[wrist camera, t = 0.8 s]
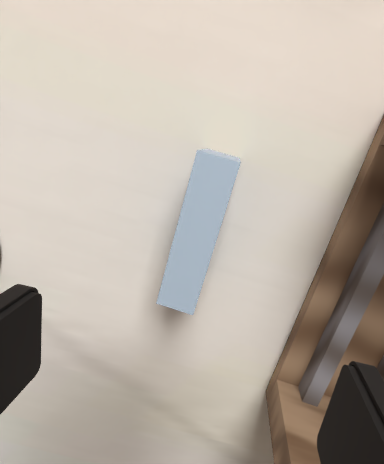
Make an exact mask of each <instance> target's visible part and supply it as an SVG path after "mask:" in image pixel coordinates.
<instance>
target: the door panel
mask: <svg viewBox="0 0 384 464" xmlns="http://www.w3.org/2000/svg"><path fill="white" fill-rule="evenodd" d="M240 163H241V162H240V158H238V157H235V156H231V155H228V154H224V153H221V152H217V151H214V150H210V149H202V150H197V153H196V157H195V160H194V164H193V168H192V172H191V175H190V179H189V183H188V187H187V190H186V194H185V198H184V202H183V205H182V209H181V213H180V217H179V220H178V224H177V228H176V231H175V235H174V239H173V243H172V246H171V250H170V254H169V258H168V261H167V265H166V269H165V273H164V276H163V280H162V284H161V288H160V291H159V295H158V299H157V303H156V304H159V305H163V306H166V307H169V308H172V309H175V310H178V311H181V312H184V313H188V314H191V315H193V314H194V311H195V307H196V304H197V301H198V298H199V295H200V291H201V288H202V285H203V282H204V278H205V275H206V272H207V269H208V266H209V262H210V259H211V256H212V253H213V250H214V246H215V243H216V240H217V237H218V234H219V230H220V227H221V224H222V221H223V218H224V214H225V211H226V208H227V205H228V201H229V198H230V195H231V192H232V189H233V185H234V182H235V179H236V176H237V173H238V169H239V166H240Z"/></svg>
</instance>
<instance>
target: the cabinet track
mask: <svg viewBox="0 0 384 464" xmlns="http://www.w3.org/2000/svg"><path fill="white" fill-rule="evenodd" d="M351 361H355V362H360V363H364V364H368V365H373V366H375V367H376V368H377V370H378V372H379V373H380V375H381V377H382V378H383V380H384V116H383V118H382V121H381V123H380V126H379V128H378V130H377V133H376V135H375V137H374V140H373V142H372V144H371V147H370V149H369V151H368V154H367V156H366V158H365V161H364V163H363V165H362V168H361V170H360V172H359V175H358V177H357V179H356V182H355V184H354V186H353V189H352V191H351V193H350V196H349V198H348V200H347V203H346V205H345V207H344V210H343V212H342V214H341V217H340V219H339V221H338V224H337V226H336V228H335V231H334V233H333V235H332V238H331V240H330V242H329V245H328V247H327V249H326V252H325V254H324V256H323V259H322V261H321V263H320V266H319V268H318V270H317V273H316V275H315V277H314V280H313V282H312V284H311V287H310V289H309V291H308V294H307V296H306V298H305V301H304V303H303V305H302V308H301V310H300V312H299V315H298V317H297V319H296V322H295V324H294V326H293V329H292V331H291V333H290V336H289V338H288V340H287V343H286V345H285V347H284V350H283V352H282V354H281V357H280V359H279V361H278V364H277V366H276V368H275V371H274V373H273V375H272V378H271V380H270V382H269V385H268V387H267V389H266V397H267V406H268V414H269V423H270V431H271V440H272V448H273V457H274V464H321V462H320V458H319V454H318V450H317V436H318V433H319V430H320V427H321V424H322V422H323V419H324V416H325V413H326V410H327V408H328V405H329V402H330V399H331V396H332V394H333V391H334V388H335V385H336V382H337V380H338V377H339V374H340V371H341V369H342V366H343V365H349V363H350V362H351Z"/></svg>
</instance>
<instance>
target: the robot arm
mask: <svg viewBox="0 0 384 464" xmlns="http://www.w3.org/2000/svg"><path fill="white" fill-rule="evenodd" d="M41 320H42V296H41V294H39V293H38V290H37V289H36V288H34V287H29V286H25V285H21V284H17V285H14V286H13V287H11V288H9V289H8V290H6V291H5V292H3V293H1V294H0V414H1V413H2V412H3V411H4V410H5V409H6V408H7V407H8V406H9V404H10V403H11V402H12V401H13V400H14V399H15V398H16V397H17V396H18V394H19V393H20V392H21V391H22V390H23V389H24V388H25V387H26V386H27V384H28V383H29V382H30V381H31V380H32V379H33V378H34V377H35V375H36V374H37V372H38V371H39V368H40V364H41ZM317 450H318V454H319V458H320V462H321V464H384V380H383V378H382V377H381V375H380V373H379V372H378V370H377V368H376V367H375V366H373V365H368V364H364V363H360V362H355V361H351V362H350V363H349V365H343V366H342V369H341V371H340V374H339V377H338V380H337V382H336V385H335V388H334V391H333V394H332V396H331V399H330V402H329V405H328V408H327V410H326V413H325V416H324V419H323V422H322V424H321V427H320V430H319V433H318V436H317Z"/></svg>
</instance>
